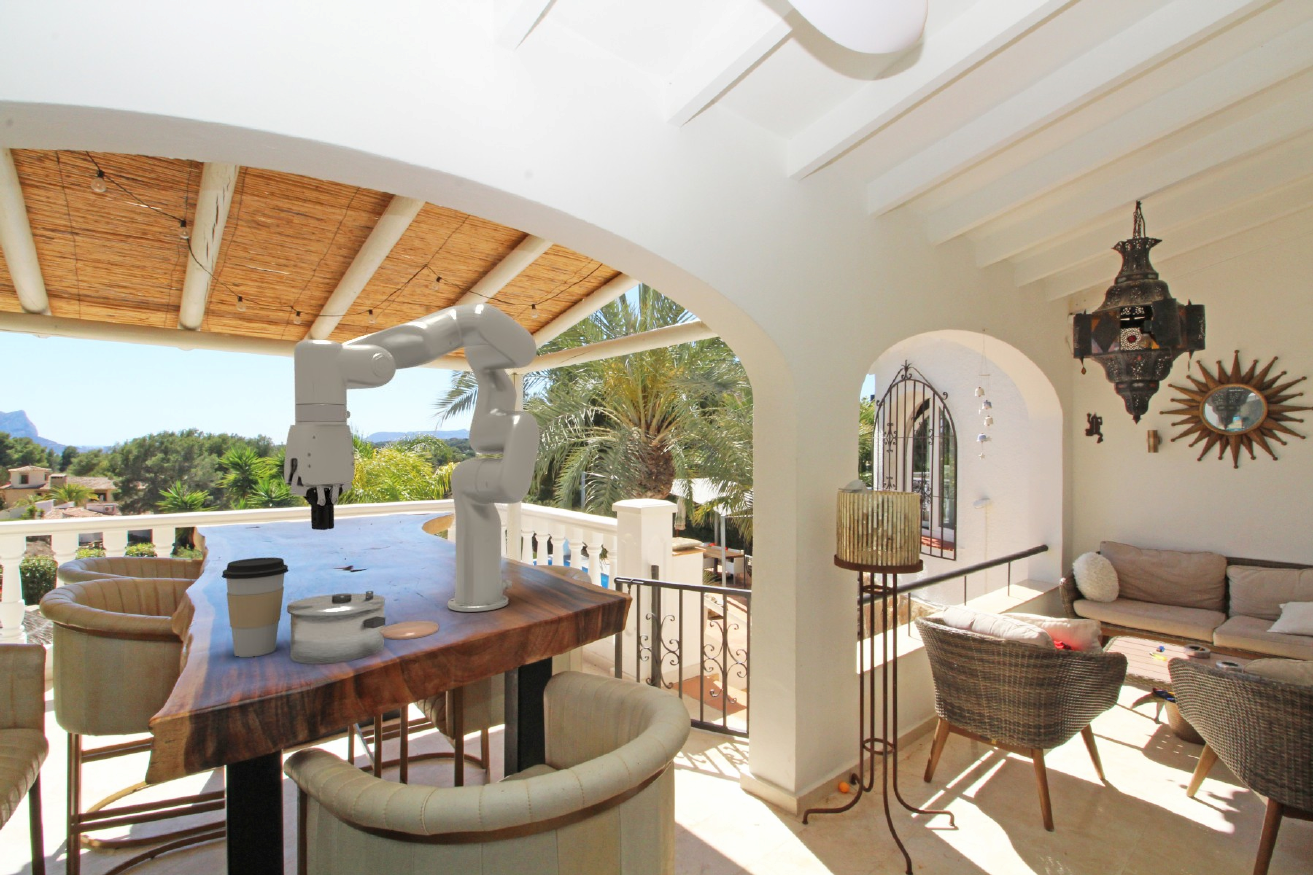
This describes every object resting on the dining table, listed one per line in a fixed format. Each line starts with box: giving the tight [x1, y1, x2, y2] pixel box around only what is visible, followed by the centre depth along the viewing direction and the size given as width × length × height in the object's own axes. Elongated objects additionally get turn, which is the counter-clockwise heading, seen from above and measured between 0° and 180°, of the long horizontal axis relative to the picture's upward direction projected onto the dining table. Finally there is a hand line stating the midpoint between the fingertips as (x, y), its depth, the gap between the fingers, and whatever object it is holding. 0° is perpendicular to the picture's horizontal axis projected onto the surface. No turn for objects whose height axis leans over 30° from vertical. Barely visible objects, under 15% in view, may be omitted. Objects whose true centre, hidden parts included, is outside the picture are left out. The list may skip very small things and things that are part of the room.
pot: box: [289, 605, 386, 665], centre depth 107 cm, size 14×18×7 cm
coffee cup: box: [221, 557, 290, 658], centre depth 106 cm, size 9×9×15 cm
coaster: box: [384, 620, 440, 640], centre depth 118 cm, size 10×10×1 cm
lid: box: [286, 590, 386, 617], centre depth 107 cm, size 15×15×2 cm
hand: (322, 528), depth 104 cm, fingers closed
